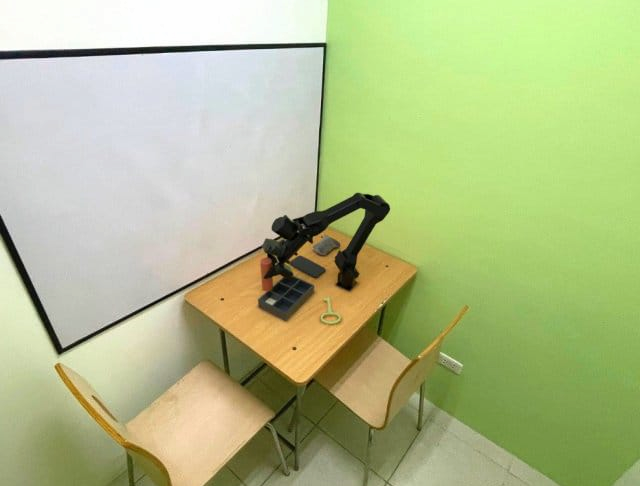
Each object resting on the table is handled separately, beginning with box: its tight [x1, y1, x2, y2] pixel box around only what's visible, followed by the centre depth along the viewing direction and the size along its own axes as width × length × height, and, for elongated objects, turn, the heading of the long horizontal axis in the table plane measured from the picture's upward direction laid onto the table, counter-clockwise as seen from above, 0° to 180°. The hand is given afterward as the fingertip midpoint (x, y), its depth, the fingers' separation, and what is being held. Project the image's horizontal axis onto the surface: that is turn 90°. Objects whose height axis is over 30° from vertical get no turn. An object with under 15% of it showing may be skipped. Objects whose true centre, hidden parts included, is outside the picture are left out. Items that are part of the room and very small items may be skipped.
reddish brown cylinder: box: [259, 257, 274, 292], centre depth 133 cm, size 4×4×12 cm
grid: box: [257, 275, 315, 322], centre depth 141 cm, size 13×19×4 cm
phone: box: [289, 255, 326, 279], centre depth 158 cm, size 7×1×15 cm
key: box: [320, 296, 342, 325], centre depth 137 cm, size 7×12×2 cm, turn 23°
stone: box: [312, 234, 341, 256], centre depth 168 cm, size 12×5×10 cm
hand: (263, 274), depth 133 cm, fingers closed on reddish brown cylinder, 4 cm apart
